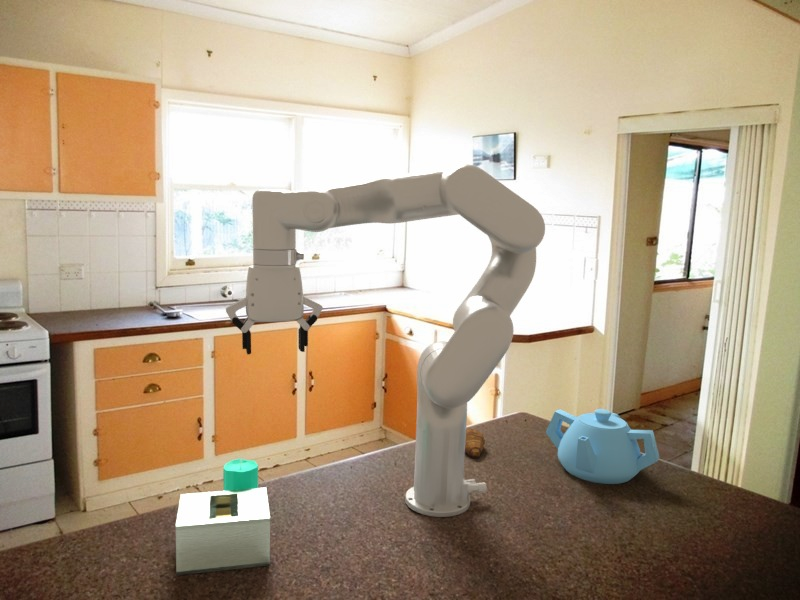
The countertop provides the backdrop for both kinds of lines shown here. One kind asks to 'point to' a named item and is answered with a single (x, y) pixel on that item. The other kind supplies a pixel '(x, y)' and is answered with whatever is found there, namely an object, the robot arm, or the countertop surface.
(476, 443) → the croissant
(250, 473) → the candle
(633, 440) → the teapot
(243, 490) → the coin box
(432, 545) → the countertop surface
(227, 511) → the block
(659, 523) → the countertop surface
